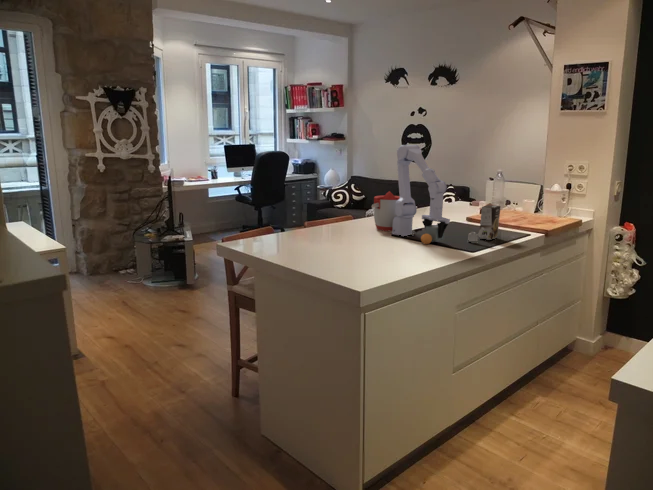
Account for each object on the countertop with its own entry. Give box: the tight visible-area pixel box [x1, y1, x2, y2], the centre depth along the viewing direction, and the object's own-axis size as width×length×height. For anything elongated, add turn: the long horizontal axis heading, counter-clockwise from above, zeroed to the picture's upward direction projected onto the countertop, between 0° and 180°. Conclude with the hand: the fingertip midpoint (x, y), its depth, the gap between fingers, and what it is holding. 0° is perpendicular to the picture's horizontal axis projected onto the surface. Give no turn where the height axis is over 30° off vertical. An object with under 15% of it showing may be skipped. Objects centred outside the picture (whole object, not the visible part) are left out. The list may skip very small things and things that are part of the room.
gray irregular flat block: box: [467, 227, 485, 241], centre depth 238 cm, size 7×2×8 cm, turn 51°
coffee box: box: [478, 204, 501, 239], centre depth 248 cm, size 9×6×16 cm
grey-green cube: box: [424, 224, 445, 242], centre depth 238 cm, size 6×6×6 cm
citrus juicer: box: [371, 190, 400, 232], centre depth 266 cm, size 16×17×20 cm
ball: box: [420, 233, 433, 245], centre depth 235 cm, size 5×5×5 cm
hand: (434, 236), depth 239 cm, fingers closed on grey-green cube, 6 cm apart
